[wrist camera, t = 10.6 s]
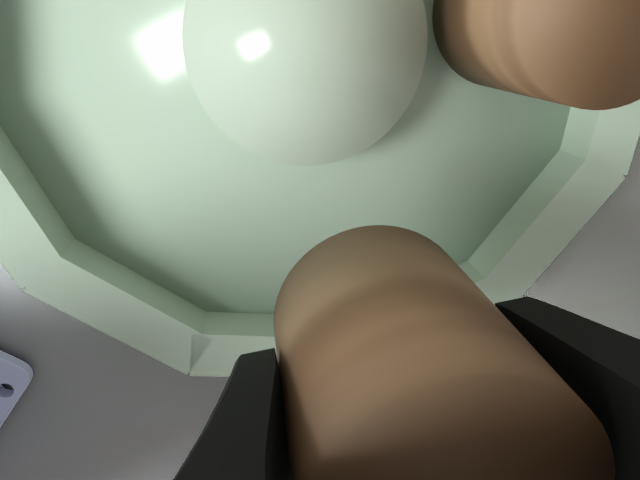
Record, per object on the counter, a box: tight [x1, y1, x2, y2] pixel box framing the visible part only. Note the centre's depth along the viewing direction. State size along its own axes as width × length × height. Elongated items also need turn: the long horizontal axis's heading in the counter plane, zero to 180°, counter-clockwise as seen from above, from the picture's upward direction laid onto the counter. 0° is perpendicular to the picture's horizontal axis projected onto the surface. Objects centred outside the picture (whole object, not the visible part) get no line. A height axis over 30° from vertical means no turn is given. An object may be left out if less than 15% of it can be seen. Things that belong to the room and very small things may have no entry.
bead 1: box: [432, 0, 640, 110], centre depth 13 cm, size 4×4×5 cm
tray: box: [0, 0, 640, 377], centre depth 15 cm, size 19×19×2 cm
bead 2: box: [273, 225, 615, 480], centre depth 9 cm, size 4×4×5 cm
